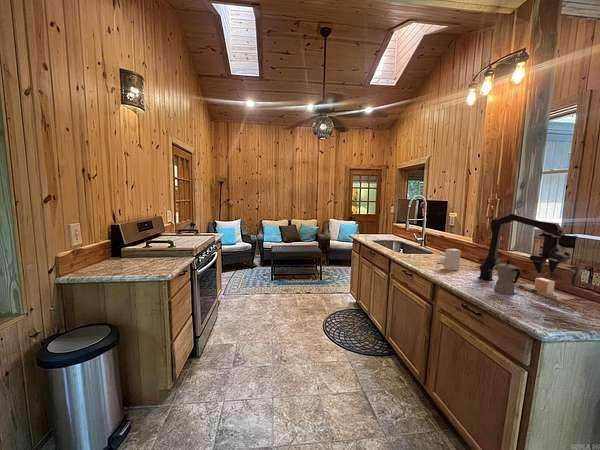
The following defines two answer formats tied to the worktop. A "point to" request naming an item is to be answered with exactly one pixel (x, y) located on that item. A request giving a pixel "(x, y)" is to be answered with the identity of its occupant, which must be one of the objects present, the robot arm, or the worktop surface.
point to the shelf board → (554, 296)
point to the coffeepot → (506, 278)
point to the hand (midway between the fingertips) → (545, 273)
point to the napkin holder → (441, 259)
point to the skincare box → (452, 259)
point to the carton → (544, 285)
